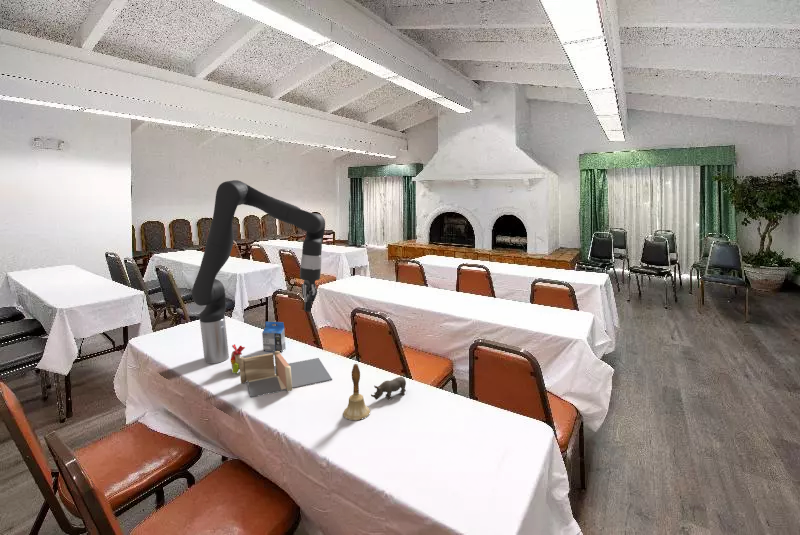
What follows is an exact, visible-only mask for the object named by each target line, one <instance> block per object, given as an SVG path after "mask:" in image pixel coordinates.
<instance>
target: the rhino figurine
mask: <svg viewBox="0 0 800 535" xmlns="http://www.w3.org/2000/svg"><path fill="white" fill-rule="evenodd" d="M406 385H407V381H406V379H405V378H404V376H398V377H395V378H393V379H391V380H384V381H383V382H382V383H381V384H380V385H378V386H377V385H374V386H373V387H374V388H375V389H376V391H375V392H374V393H373V394H372V393H371V394H370V396H371V397H372V398H374V400H376V401H377V400H378V399H380V398H381V397H382V396H383V395H384V393H386V394H385V396H386V399H387V400H388V401H389V399H390V400H392V393H393V392H397V391H400V396H405V392H406Z"/></svg>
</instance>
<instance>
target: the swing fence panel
mask: <svg viewBox="0 0 800 535" xmlns="http://www.w3.org/2000/svg"><path fill="white" fill-rule="evenodd" d="M276 357H277V365H278V376H279V378H280V379H281V381H282V382H283V384H284V385H285V387H286V388H287V390H286V391H287V392H291V391H293V388H292V379H291V366H289V364H288V363H289V362H287V361H286V359H285V358H284V357H283V355H282V354H281V353H280V354H278V355H276Z"/></svg>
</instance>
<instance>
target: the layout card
mask: <svg viewBox="0 0 800 535" xmlns="http://www.w3.org/2000/svg"><path fill="white" fill-rule="evenodd" d="M287 363H288V364H289V366H291V379H292V389H298V388H301V387H306V385H307V386H311V385H315V383H316V384H320V382H321V383H324V382H329V380H330V381H333V378H332V376H331V375H330V373H329V372H328V370H327V369H326V367H325V366H324V364H323V363H322V361H321V359H320V357H314V358H310V359H306V360H300V361H294V362H287ZM274 369H275V376H270V377H265V378H260V379H255V380H250V381H247V385H248V390H249V396H250V398H254V396H255V397H259V396H258V395H260V396H264V395H268V393H269V394H273V392H274V393H278V392H283V391H287V388H286V387H285V385H284V384H283V382H282V381H281V379H280V378H279V376H276V366H275V365H274ZM310 384H311V385H310ZM263 394H264V395H263Z"/></svg>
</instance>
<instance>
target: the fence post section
mask: <svg viewBox="0 0 800 535" xmlns="http://www.w3.org/2000/svg"><path fill="white" fill-rule="evenodd" d="M278 354H281V352H280V351H273V352H270V353H266V354H260V355H254V356H249V357H243V356H240V358H239V368H240V370H239V378H240V383H241V384H246V383H247V382H248V381H250V380H255V379H260V378H265V377H270V376H275V369H274V366H276V376H278V365H277V357H276V355H278Z"/></svg>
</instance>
